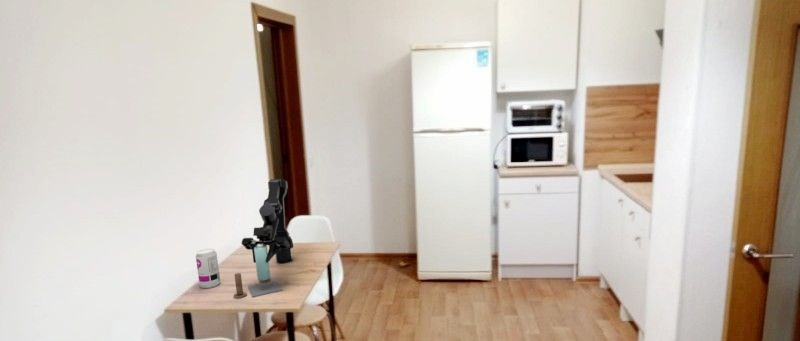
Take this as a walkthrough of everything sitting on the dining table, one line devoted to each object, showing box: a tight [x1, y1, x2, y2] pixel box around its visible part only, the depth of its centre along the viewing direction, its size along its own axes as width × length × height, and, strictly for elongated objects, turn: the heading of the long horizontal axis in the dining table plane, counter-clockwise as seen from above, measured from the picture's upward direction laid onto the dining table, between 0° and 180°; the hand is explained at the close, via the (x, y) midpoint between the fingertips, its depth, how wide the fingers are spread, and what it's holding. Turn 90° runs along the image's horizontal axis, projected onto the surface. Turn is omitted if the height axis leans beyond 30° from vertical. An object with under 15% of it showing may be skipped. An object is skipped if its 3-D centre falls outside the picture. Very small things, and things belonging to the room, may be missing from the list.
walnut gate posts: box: [233, 272, 272, 300], centre depth 188 cm, size 21×5×9 cm, turn 161°
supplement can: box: [195, 248, 221, 289], centre depth 195 cm, size 8×8×15 cm
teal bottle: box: [254, 243, 271, 281], centre depth 185 cm, size 5×5×14 cm
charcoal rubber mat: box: [247, 279, 284, 298], centre depth 187 cm, size 12×12×1 cm
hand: (260, 262), depth 184 cm, fingers closed on teal bottle, 5 cm apart
